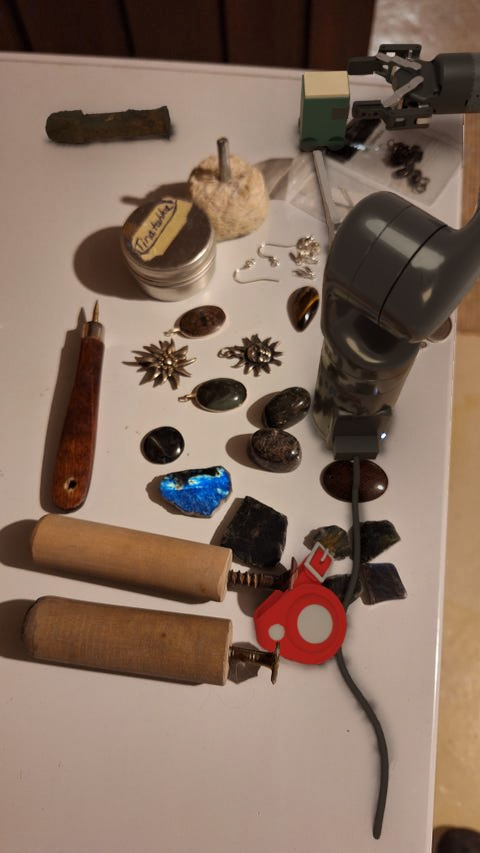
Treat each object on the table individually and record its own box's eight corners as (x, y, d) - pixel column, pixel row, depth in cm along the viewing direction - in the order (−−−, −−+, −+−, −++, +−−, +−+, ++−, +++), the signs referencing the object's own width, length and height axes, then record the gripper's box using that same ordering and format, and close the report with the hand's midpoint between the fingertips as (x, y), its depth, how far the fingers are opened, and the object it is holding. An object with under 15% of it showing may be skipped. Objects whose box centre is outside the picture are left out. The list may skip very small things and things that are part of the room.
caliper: (338, 262, 87) (344, 230, 81) (330, 262, 87) (335, 231, 81) (319, 152, 95) (322, 117, 89) (312, 153, 95) (315, 117, 89)
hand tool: (172, 122, 98) (168, 96, 94) (171, 141, 97) (167, 115, 93) (51, 128, 99) (42, 102, 95) (49, 147, 97) (39, 121, 93)
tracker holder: (362, 656, 65) (271, 679, 62) (345, 651, 69) (258, 672, 66) (338, 538, 67) (248, 555, 64) (322, 540, 71) (238, 556, 69)
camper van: (344, 151, 95) (352, 95, 86) (298, 152, 95) (302, 96, 86) (342, 126, 97) (349, 69, 88) (297, 127, 97) (300, 71, 88)
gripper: (467, 22, 87) (349, 27, 87) (484, 95, 81) (357, 100, 82) (452, 72, 94) (343, 76, 94) (467, 143, 88) (350, 147, 89)
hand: (350, 87), depth 88 cm, fingers open, 8 cm apart
